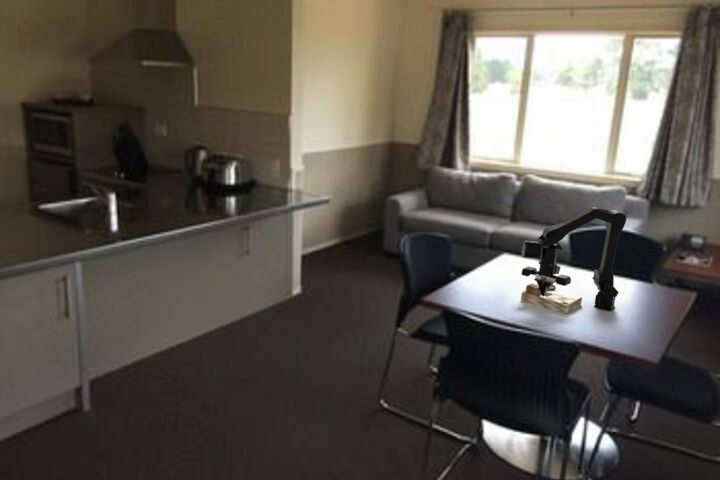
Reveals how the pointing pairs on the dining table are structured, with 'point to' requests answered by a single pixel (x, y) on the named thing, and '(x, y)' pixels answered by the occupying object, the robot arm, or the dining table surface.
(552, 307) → the trap box
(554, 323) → the dining table surface
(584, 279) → the dining table surface
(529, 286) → the block
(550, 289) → the pocket watch
